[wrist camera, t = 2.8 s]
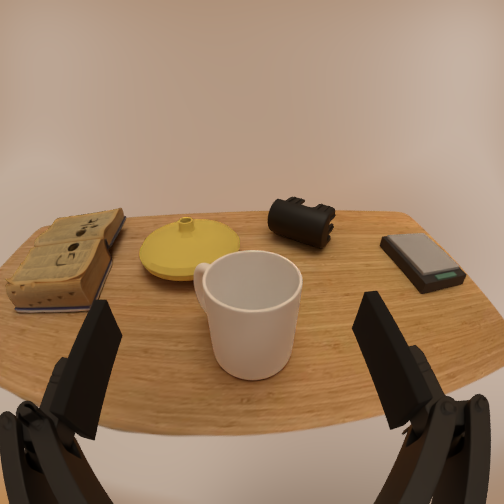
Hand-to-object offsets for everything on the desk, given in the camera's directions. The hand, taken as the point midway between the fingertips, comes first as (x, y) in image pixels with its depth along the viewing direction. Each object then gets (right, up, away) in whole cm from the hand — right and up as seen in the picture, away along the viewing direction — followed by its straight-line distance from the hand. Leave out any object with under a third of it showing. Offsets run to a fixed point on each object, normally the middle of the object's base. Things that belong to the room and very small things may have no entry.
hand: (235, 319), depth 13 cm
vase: (-9, +2, +29) cm, 31 cm away
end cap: (+9, +5, +35) cm, 37 cm away
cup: (-1, -7, +16) cm, 17 cm away
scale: (+31, +1, +28) cm, 42 cm away
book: (-31, +1, +28) cm, 41 cm away
